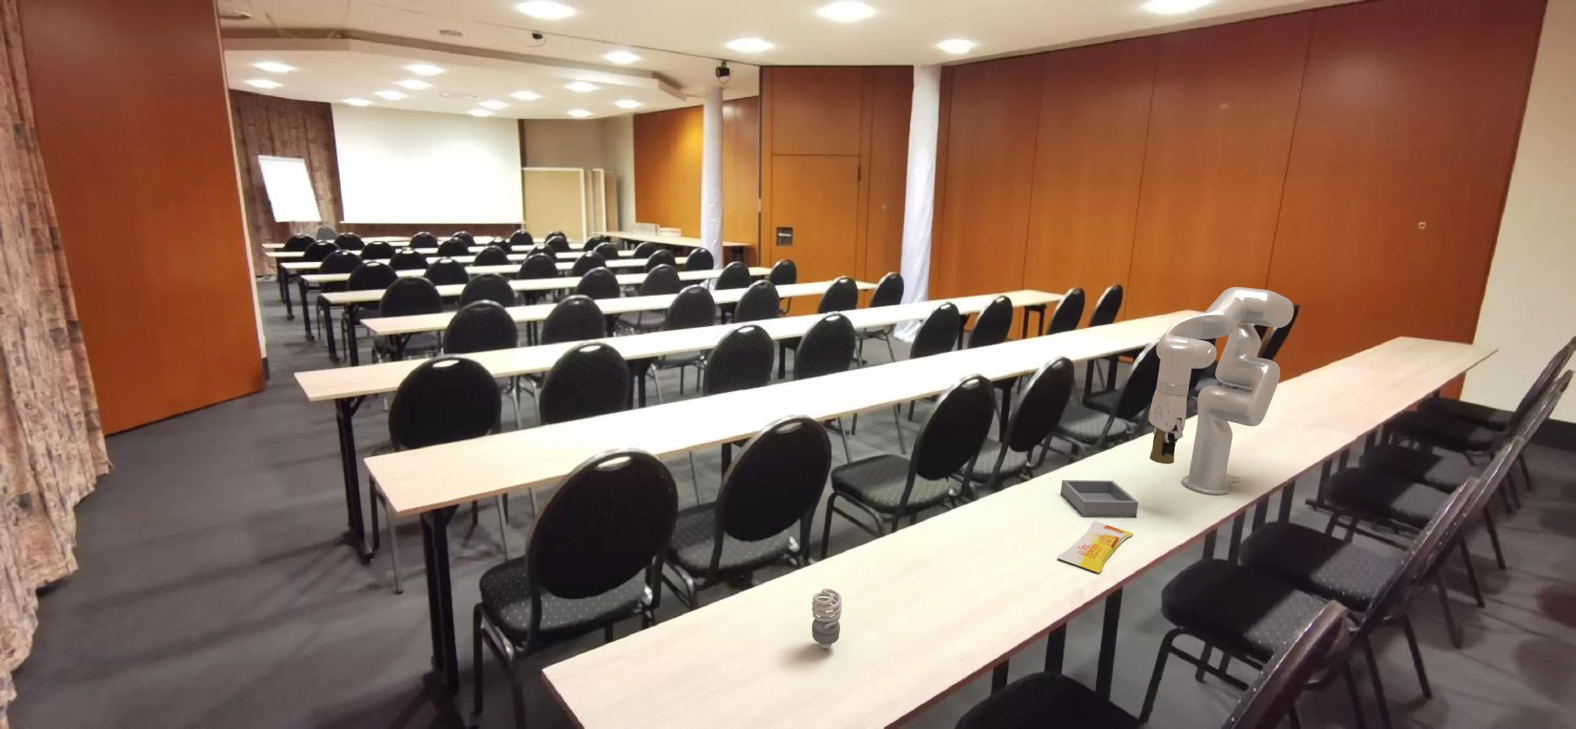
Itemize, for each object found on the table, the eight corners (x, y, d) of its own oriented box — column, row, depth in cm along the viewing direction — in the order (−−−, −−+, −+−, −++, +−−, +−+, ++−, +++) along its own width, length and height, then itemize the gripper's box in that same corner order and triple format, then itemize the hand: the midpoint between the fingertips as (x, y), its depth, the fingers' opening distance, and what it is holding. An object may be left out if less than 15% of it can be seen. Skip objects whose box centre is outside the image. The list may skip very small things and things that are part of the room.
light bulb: (808, 639, 140) (810, 584, 137) (837, 638, 140) (839, 583, 137) (812, 657, 134) (814, 600, 131) (841, 656, 135) (844, 599, 132)
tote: (1110, 494, 211) (1112, 480, 210) (1136, 517, 196) (1138, 502, 195) (1060, 494, 210) (1062, 480, 209) (1082, 517, 196) (1084, 501, 195)
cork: (1177, 464, 193) (1183, 426, 190) (1152, 462, 194) (1158, 424, 191) (1170, 456, 199) (1175, 419, 196) (1146, 454, 200) (1152, 417, 197)
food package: (1099, 568, 166) (1056, 553, 172) (1098, 577, 166) (1055, 562, 172) (1134, 529, 186) (1094, 517, 192) (1132, 537, 186) (1093, 524, 193)
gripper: (1142, 379, 199) (1134, 441, 204) (1176, 397, 183) (1165, 464, 188) (1169, 379, 200) (1159, 441, 204) (1204, 397, 184) (1193, 464, 188)
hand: (1162, 451), depth 196 cm, fingers closed on cork, 3 cm apart
